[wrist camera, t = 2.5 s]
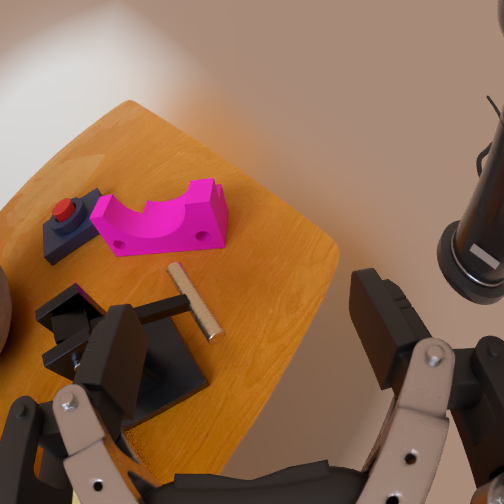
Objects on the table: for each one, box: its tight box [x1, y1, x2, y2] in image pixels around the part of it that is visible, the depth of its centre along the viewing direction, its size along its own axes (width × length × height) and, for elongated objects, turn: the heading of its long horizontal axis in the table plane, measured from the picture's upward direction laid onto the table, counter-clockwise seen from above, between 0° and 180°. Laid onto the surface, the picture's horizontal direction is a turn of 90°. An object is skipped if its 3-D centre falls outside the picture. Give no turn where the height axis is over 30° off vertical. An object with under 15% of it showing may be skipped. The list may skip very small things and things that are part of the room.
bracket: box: [35, 283, 210, 432], centre depth 21 cm, size 12×9×13 cm
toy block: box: [89, 178, 228, 257], centre depth 35 cm, size 15×6×8 cm, turn 89°
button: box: [52, 198, 75, 222], centre depth 38 cm, size 4×4×2 cm
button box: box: [43, 188, 102, 265], centre depth 40 cm, size 12×9×4 cm
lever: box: [51, 262, 226, 345], centre depth 20 cm, size 12×8×2 cm, turn 123°
